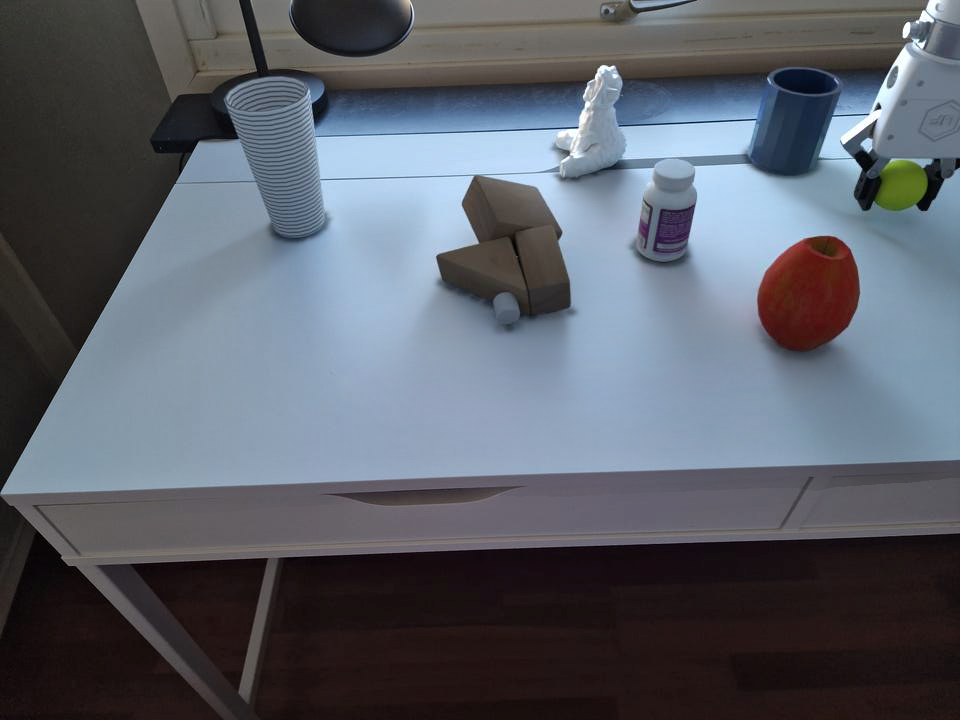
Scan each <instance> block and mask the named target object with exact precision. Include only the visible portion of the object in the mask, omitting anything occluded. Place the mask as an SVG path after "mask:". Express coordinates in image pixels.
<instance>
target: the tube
mask: <svg viewBox="0 0 960 720" xmlns="http://www.w3.org/2000/svg"><path fill="white" fill-rule="evenodd" d="M843 87H844V83H843V82H842V80H841V78H840V77H838V76H836V75H835V74H833V73H831V72H828V71H825V70H822V69H818V68H812V67H808V66H787V67H781V68H777V69H775V70H773V71H771V72H770V73H769V74H768V76H767V79H766V82H765V86H764V90H763V94H762V98H761V101H760V105H759V109H758V111H757V116H756V120H755V124H754V127H753V130H752V135H751V140H750V143H749V147H748V150H747V159H748V161H749V162H750V164H751V165H752V166H754V167H756V169H758V170H761V171H763V172H766V173H769V174H772V175H776V176H787V177H794V176H803V175H806V174H808V173H810V172H812V171H813V170H814V169H815V168H816V166H817V163H818V160H819V158H820V154H821V151H822V149H823V145H824V142H825V139H826V137H827V135H828V131H829V129H830V125H831V122H832V120H833V117H834V114H835V112H836V109H837V105H838V102H839V99H840V96H841V93H842V91H843Z"/></svg>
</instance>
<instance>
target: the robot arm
mask: <svg viewBox="0 0 960 720" xmlns="http://www.w3.org/2000/svg"><path fill="white" fill-rule="evenodd" d="M921 12H922V13H921V15H920V17H919V19H918V20H915V21H914V22H913V21H912V22H906V23H905V25H904V26H903V30H902V38H904V39H910V40H912V42H911V41H910V42H907V43H906V44H905V45H904V47H903V48H902V49H901V51H900V53H899V55H898V56H897V57H896V59H895V61H894V62H893V64H892V65H891V67H890V70H889V71H888V73H887V75H886V76H885V78H884V81H883V83H882V85H881V87H880V89H879V91H878V93H877V95H876V98H875V99H874V101H873V105H872V107H871V109H870V112H869V115H868V116H867V117H866V118H865V119H864V120H862V121H861V122H860V123H858V124H857V125H855V127H853V128H852V129H851V130H849V131H847V132H846V133H845V134H844V135H843V136H841V138H840V139H839V142H840V145H841V147H842V148H843V149H844V151H845V152H847V153H848V155H850V157H852V158H853V159H854V160H855V162H856V163H857V165H858V166H859V167H860V169H861V171H860V173H859V177H858V179H857V181H856V184H855V187H854V190H853V198H854V200H855V201H856V202H857V204H858V205H859V207H860V209H861V211H862V212H868V211H871V210H872V208H873V205H874V203H875V202H874V200H875V197H876V195H877V193H878V190H879V188H880V185H881V183H882V179H881V177H880V176H879V175H880V173H881V172H882V170H883V169H884V168H885V167H886V165H887V164H888V163H889V162H891V161H892V159H896V160H909V159H911V160H913V159H914V160H916V159H917V160H920V159H921V160H922V159H923V160H924V159H925V160H926V159H927V160H929V159H930V160H931V163H930V164H925V166H924V167H922V168H923V169H924V171H925V173H926V175H927V179H928V185H927V190H926V192H925V194H924V196H923V197H922V199H921V200H920V201H919V202H918V203H916V204H915V206H916V207H917V209H918V211H920V212H928V211H929V209H930V207H931V205H932V203H933V201H935V200H936V198H937V197H938V194H939V192H940V191H941V188H942V187H943V184H944V182H945V180H946V179H947V180H948V179H950V178H952V177H953V176H954V174H955V171H957V170H959V169H960V0H928V3H927V6H926V8H925V10H922V11H921ZM867 139H870V140H871V145H870V146H869V148H868V149H867V150H866V149H865V147H864V146H863V145H862V143H863V142H864V141H865V140H867Z"/></svg>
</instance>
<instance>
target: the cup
mask: <svg viewBox="0 0 960 720" xmlns="http://www.w3.org/2000/svg"><path fill="white" fill-rule="evenodd" d="M223 101H224V103H225V106H226V109H227V111H228V115H229V117H230V119H231V122H232V124H233V127H234V130H235V132H236V134H237V137H238V140H239V142H240V145H241V147H242V150H243V153H244V155H245V158H246V160H247V162H248V163H247V164H248V166H249V168H250V170H251V173H252V175H253V178H254V181H255V183H256V186H257V188H258V191H259V193H260V197H261V199H262V201H263V203H264V206H265V209H266V211H267V214H268V216H269V217H268V218H269V219H270V222H271V225H272V227H273V230H274V231H275V232H276V233H277V234H278V235H280V236H281V237H286V238H289V239H290V238H291V239H293V238H303V237H307V236H311V235H313V234H314V233H317V232H318V231H319V230H320V229H321V228H323V226H324V224H325V222H326V213H325V203H324V196H323V187H322V179H321V172H320V161H319V154H318V147H317V138H316V131H315V130H316V129H315V122H314V114H313V106H312V97H311V88H310V87H309V86H308V84H307V82H306V81H303V80H301V79H299V78H297V77H293V76H286V75H277V76H276V75H273V76H271V75H270V76H263V77H257V78H252V79H249V80H246V81H243V82H241V83H238V84H236V85H235V86H234V87H232V88H230V89H229V90H227V93H226V94H225V96H224V97H223Z"/></svg>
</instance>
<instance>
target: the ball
mask: <svg viewBox="0 0 960 720" xmlns="http://www.w3.org/2000/svg"><path fill="white" fill-rule="evenodd" d="M923 168H924V167H922V166H921V165H920V164H918V163H917V162H915V161H912V160H909V159H895V160H891V161H890V162H889V163H888V164H887V165H886V167H885V168H884V169H883V170H882V172H881V173H880V175H879V176H880V177H881V179H882V183H881V185H880V188H879V190H878V193H877V195H876V197H875V200H874V202H873V203H874V204H875V205H877V207H879V208H881V209H883V210H884V211H885V210H886V211H889V212H890V211H891V212H900V211H905V210H907V209H910V208H912V207H914V206H916V203H918V202H919V201H920V200H921V199H922V197H923V196H924V194H925V192H926V190H927V185H928V179H927V175H926V173H925V171H924V169H923Z"/></svg>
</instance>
